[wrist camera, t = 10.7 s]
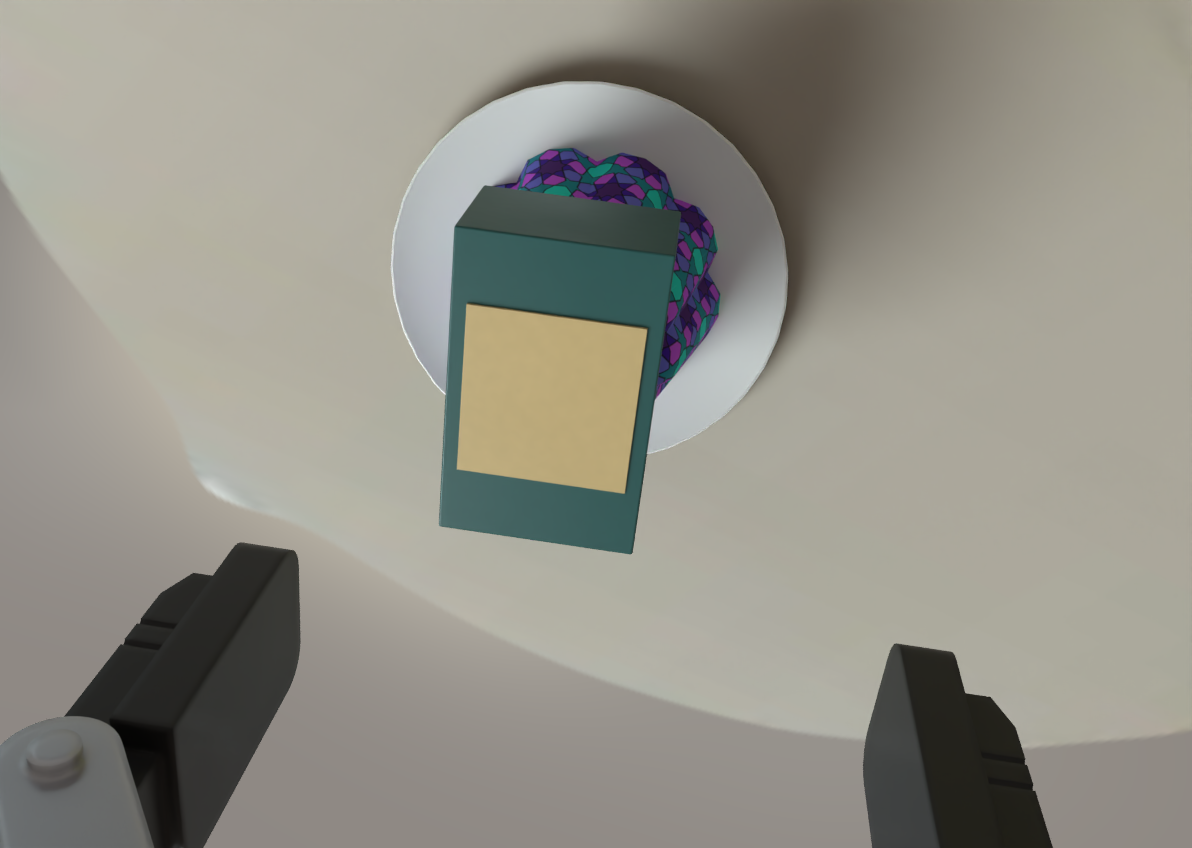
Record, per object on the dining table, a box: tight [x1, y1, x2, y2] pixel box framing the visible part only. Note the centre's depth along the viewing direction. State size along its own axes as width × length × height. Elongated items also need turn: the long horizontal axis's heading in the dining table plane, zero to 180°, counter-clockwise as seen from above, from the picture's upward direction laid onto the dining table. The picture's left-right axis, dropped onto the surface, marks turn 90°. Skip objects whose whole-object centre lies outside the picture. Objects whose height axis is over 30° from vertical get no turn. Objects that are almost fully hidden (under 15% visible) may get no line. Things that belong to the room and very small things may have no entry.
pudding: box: [391, 81, 788, 454], centre depth 33 cm, size 12×12×5 cm
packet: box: [439, 185, 681, 554], centre depth 29 cm, size 5×8×4 cm, turn 174°
